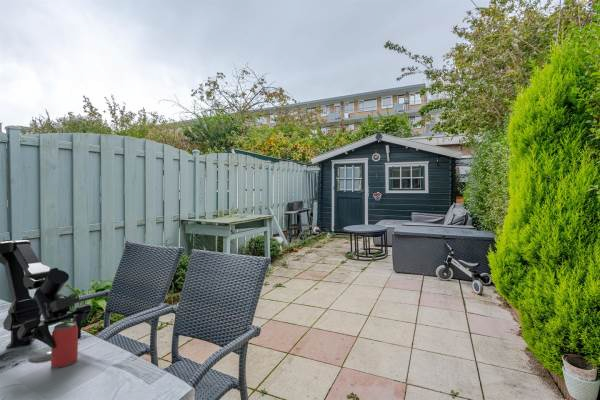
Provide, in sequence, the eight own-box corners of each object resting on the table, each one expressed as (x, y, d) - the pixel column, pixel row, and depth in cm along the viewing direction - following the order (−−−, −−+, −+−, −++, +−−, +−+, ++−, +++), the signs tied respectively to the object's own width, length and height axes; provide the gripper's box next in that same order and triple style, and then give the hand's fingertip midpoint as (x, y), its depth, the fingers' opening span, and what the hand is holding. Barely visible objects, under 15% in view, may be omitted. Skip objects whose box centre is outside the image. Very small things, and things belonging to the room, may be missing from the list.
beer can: (62, 369, 90) (63, 330, 90) (45, 367, 91) (46, 328, 91) (82, 358, 96) (83, 321, 97) (66, 356, 98) (67, 320, 98)
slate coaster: (34, 350, 101) (34, 348, 101) (70, 344, 106) (70, 342, 106) (23, 364, 92) (23, 362, 92) (63, 357, 97) (63, 355, 97)
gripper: (22, 295, 87) (41, 340, 83) (90, 280, 104) (109, 317, 99) (9, 317, 91) (26, 362, 86) (77, 299, 108) (94, 336, 103)
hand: (67, 342), depth 93 cm, fingers closed on beer can, 7 cm apart
